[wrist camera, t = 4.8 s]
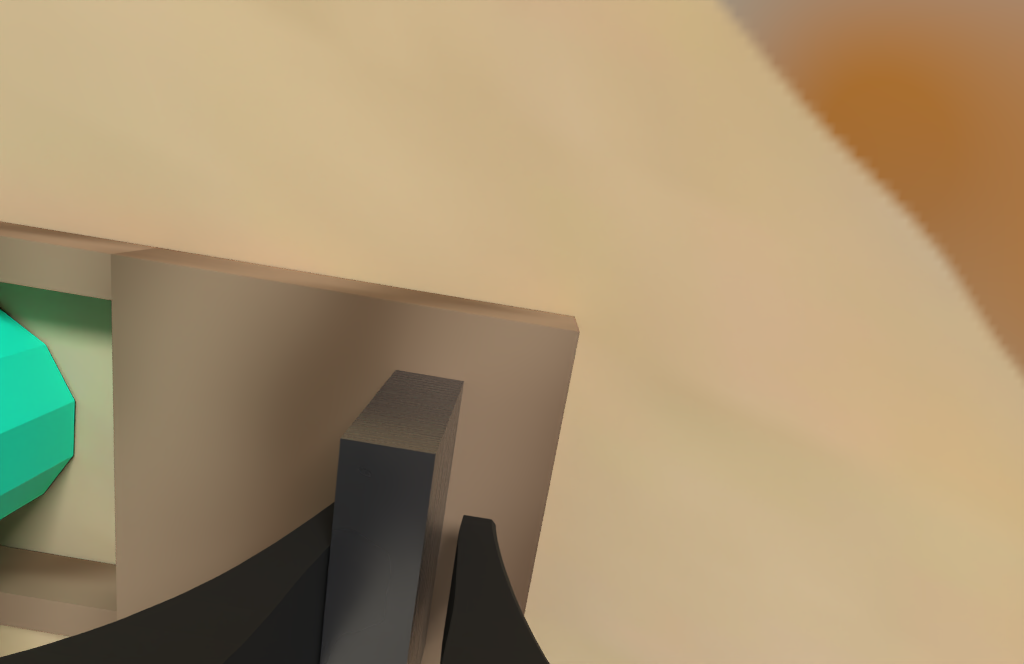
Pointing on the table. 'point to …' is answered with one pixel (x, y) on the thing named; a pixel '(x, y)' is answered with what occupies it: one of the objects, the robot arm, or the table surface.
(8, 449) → the candle
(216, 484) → the brown compartment tray
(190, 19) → the table surface
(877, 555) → the table surface
